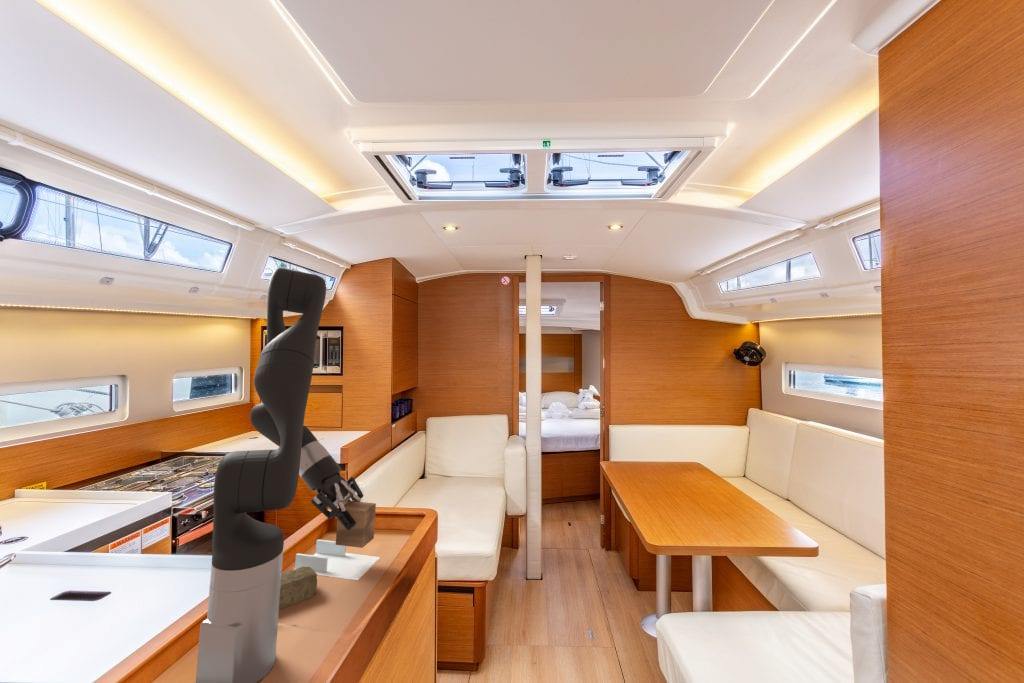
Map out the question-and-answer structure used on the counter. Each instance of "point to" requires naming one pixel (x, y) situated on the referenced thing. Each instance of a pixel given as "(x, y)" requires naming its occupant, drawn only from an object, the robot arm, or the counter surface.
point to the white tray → (335, 561)
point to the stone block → (297, 586)
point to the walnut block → (357, 525)
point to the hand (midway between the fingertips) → (359, 522)
